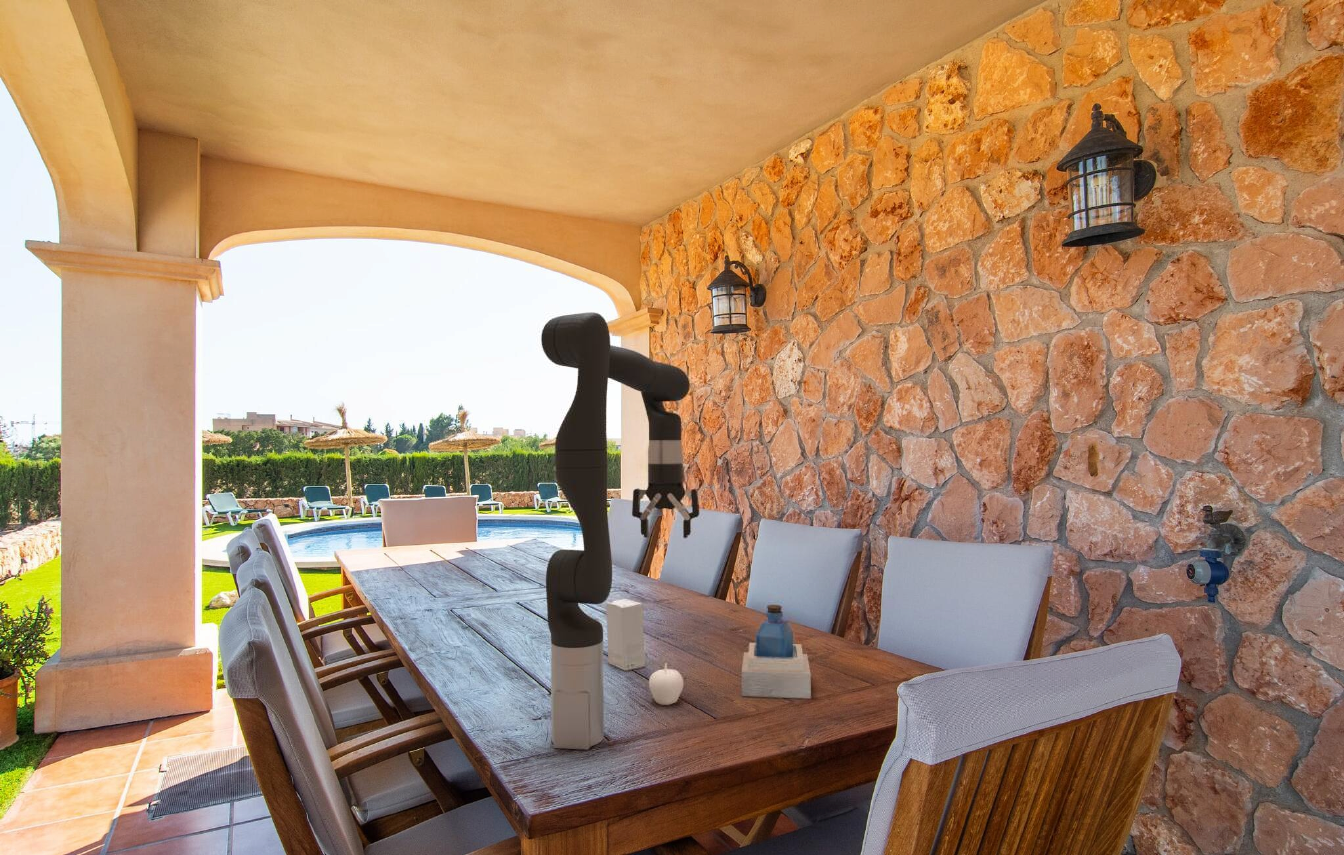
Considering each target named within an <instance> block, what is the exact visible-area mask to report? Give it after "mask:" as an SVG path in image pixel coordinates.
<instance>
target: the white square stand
mask: <svg viewBox="0 0 1344 855" xmlns="http://www.w3.org/2000/svg"><path fill="white" fill-rule="evenodd" d="M748 644H749V645H748V652H745V651H744V652H743V656H742V667H741V697H756V698H757V697H758V698H759V697H760V698H779V699H780V698H781V699H782V698H783V699H784V698H785V699H807V700H808V699H812V695H811V694H812V689H811V688H812V684H811V682H812V680H811V670H810V668H811V667H810V664H809V658H808V654H807V653H803V648H802V647H803V646H802V644H800V643H793V657H761V656H756V642H749V643H748Z"/></svg>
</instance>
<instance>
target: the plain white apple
mask: <svg viewBox="0 0 1344 855" xmlns="http://www.w3.org/2000/svg"><path fill="white" fill-rule="evenodd" d="M648 687H649V690H650V692H651V693H650V694H651V695H652V697H653V699H654V701H655V702H656V703H657V704H658V705H661V706H669V705H672V704H675V703H676V702H677V701H678V699H679V698H680V695H681V693H682V691H683V688H684V678H683V676H682V675H681V674H680V672H679V671H677V670H676V669H671V668H668V663H667V662H665V663H664V669H658V670H656V671H655V672H652V674H651V675H650V677H649V680H648Z"/></svg>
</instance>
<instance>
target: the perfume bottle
mask: <svg viewBox="0 0 1344 855" xmlns="http://www.w3.org/2000/svg"><path fill="white" fill-rule="evenodd" d="M766 607H767V610H766V616H765V617H766V618H767V619H766V620H765V621H763V623H762V624H761V625H760V628H759V629H758V632H757V633H756V635H755V637H756V638H755V639H756V640H755V641H756V642H755V643H756V656H761V657H793V644H794V632H793V629H792V628H791V626H790V624H789V623H788V621H787V620H785V619H784V620H782V618H783V615H784V613H783V611H782V608H783V606H782V605H781V604H780V605H779V604H768V605H767V606H766Z"/></svg>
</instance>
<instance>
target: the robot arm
mask: <svg viewBox="0 0 1344 855" xmlns="http://www.w3.org/2000/svg"><path fill="white" fill-rule="evenodd" d="M545 323H546V324H544V326H543V328H542V331H541V335H540V336H541V337H540V338H541V339H540V340H541V341H540V342H541V348H542V351H543V353H544V354H545V356H546V357H547V359H548V360H550V362H552V363H553V364H555V365H558V366H562V367H568V368H573V369H577V384H576V389H575V394H574V397H573V400H572V401H571V402H572V403H571V404H570V407H569V408H568V410H567V412H566V414H565V416H564V419H563V420H562V422H561V424H560V426H559V429H558V431H557V433H556V437H555V442H554V444H555V445H554V450H555V452H554V458H555V459H554V461H555V463H554V464H555V465H554V470H555V479H556V481H557V483H558V486H559V488H560V490H561V492H562V494H563V496H564V498H565V499H566V500H567V502H568V504H569V505H570V507H571V509H572V510H573V512H574V515H575V516H576V518H577V520H578V523H579V525H580V529H581V534H582V541H583V549H558V550H556V551H554V552H553V553H552V555H551V556H550V558H549V561H548V563H547V567H546V572H545V593H546V594H545V595H546V608H547V609H546V610H547V626H548V630H549V633H550V677H551V678H550V693H551V694H550V703H551V704H550V707H551V708H550V709H551V710H550V711H551V712H550V715H551V716H550V717H551V720H550V721H551V728H550V729H551V731H550V732H551V734H550V735H551V736H550V737H551V743H552V744H553V748H554V749H566V750H567V749H569V750H570V749H571V750H589V749H590V748H591V747H592V746H595V745H598V744H600V743H601V742H602V741H603V740H604V737H605V736H604V735H605V733H604V732H605V731H604V730H605V728H604V723H605V722H604V721H605V720H604V717H605V716H604V715H605V714H604V709H605V707H604V705H605V704H604V698H605V697H604V627H603V625H602V623H601V622H600V621H599V620H597V619H595V618H593V617H591V616H590V615H588V614H587V613H585V611H583V610H582V608H581V607H580V605H579V604H583V605H584V604H585V605H601V604H603V603H606V602H605V601H607V599H608V598H609V597H610V592H611V591H612V590H611V589H612V584H613V583H612V582H613V560H612V549H611V540H610V530H609V529H610V528H609V516H608V514H609V512H608V438H607V436H608V435H607V400H608V399H607V398H608V397H607V396H608V395H607V393H608V384H609V383H608V382H609V379H610V380H613V381H616V382H618V383H620V384H622V385H624V386H627V387H629V388H631V389H633V390H636V391H638V392H640V394H641V397H642V402H643V404H644V408H645V414H646V417H647V420H648V448H647V488H646V489H642V488H641V489H640V488H639V487H638V488H635V489H633V491H632V507H631V515H632V517H634V518H637V519H639V520H640V534H641V535H642V536H643V538H646V539H647V538H649V534H650V532H649V525H650V524H649V519H648V518H649V516H650V515H651V513H652V512H653V510H655V509H657V510H664V509H667V510H673V509H676V510H677V511H678V513H679V514H680V515H681V516H682V517H683V519H684V520H683V523H682V524H683V526H682V529H683V536H682V537H683V539H687V538H689V536H690V535H691V533H692V529H691V528H692V527H691V526H692V524H691V523H692V519H695V518H698V517H699V516H700V503H699V502H700V501H699V490H698V488H693V489H685V488H684V454H683V451H684V450H683V444H682V443H683V442H682V418H681V416H680V415H679V413H675V412H671V411H670V412H669V411H667V410H666V408H665V406H664V403H663V402H678V401H682V400H683V399H684V398H686V397H687V395H688V394H689V391H690V388H691V386H690V385H691V384H690V379H689V376H688V374H686V372H685V371H684V370H683V369H681V368H679V367H678V366H674V365H672V364H668V363H664V362H659V361H654V360H653V359H651V358H649V357H648V356H645V355H644V354H642V353H640V352H638V351H635V350H634V349H633V350H632V349H629V348H626V347H621V346H616V345H611V336H610V334H611V333H610V329H609V326H608V323H607V321H606V319H605V318H604V317H603V316H602V315H601V314H600V313H598V312H592V311H591V312H589V311H588V312H583V313H579V312H578V313H574V314H573V313H572V314H565V315H560V316H559V315H558V316H556V317H553V318H552V319H549V320H548V321H547V322H545ZM645 495H646V497H647V498H648V500H649V501H650V502H649V503H648V505H647V506H646V508H645V509H644V511H643V512H642V511H641V500H642V499H644V497H645ZM685 495H686V496H687V497H688V499H689V500H691V509H692V512H689V511H688V509H687V508H686V507H685V505H684V504H683V502H682V500H683V498H684V497H685Z"/></svg>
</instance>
